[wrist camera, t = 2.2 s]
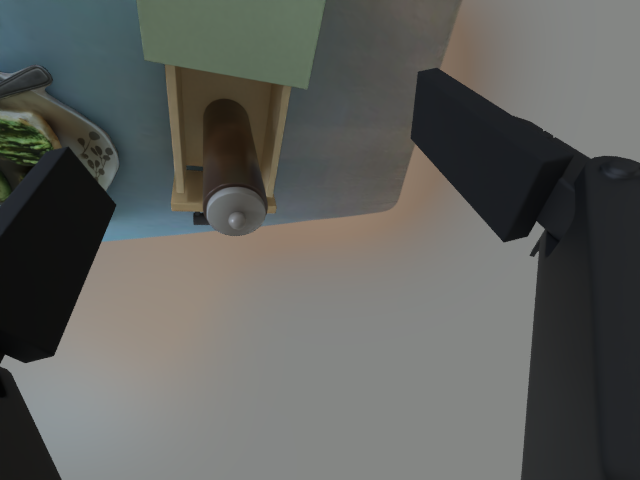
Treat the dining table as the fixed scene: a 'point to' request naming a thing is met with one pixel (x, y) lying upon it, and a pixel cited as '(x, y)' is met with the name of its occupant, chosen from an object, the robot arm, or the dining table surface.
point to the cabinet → (234, 37)
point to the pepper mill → (231, 171)
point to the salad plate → (45, 131)
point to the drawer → (187, 128)
